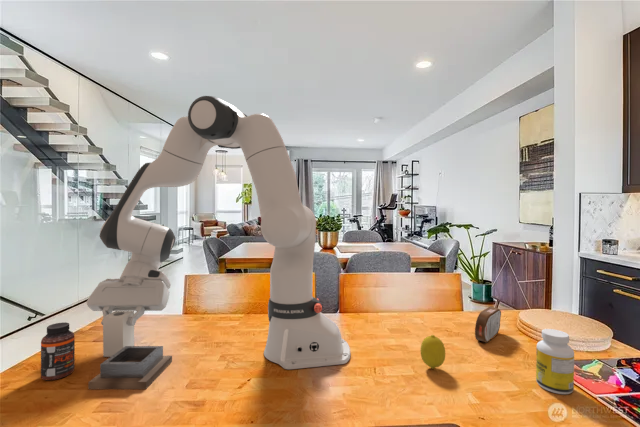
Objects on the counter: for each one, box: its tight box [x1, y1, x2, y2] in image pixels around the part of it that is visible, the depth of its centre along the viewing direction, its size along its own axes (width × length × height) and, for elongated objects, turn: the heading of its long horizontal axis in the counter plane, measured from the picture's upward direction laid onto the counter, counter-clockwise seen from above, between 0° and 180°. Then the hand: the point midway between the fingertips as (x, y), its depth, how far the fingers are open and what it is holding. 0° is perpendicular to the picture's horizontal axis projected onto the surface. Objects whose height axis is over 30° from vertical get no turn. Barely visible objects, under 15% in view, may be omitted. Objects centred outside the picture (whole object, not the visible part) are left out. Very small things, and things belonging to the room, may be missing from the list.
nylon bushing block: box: [102, 311, 135, 358], centre depth 84 cm, size 5×5×10 cm
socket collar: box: [99, 345, 164, 378], centre depth 73 cm, size 9×9×3 cm
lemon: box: [420, 334, 446, 370], centre depth 76 cm, size 6×6×8 cm
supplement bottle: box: [40, 321, 76, 381], centre depth 73 cm, size 6×6×11 cm
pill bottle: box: [535, 328, 575, 395], centre depth 68 cm, size 6×6×12 cm
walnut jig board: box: [87, 355, 173, 390], centre depth 73 cm, size 12×12×2 cm
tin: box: [474, 305, 502, 343], centre depth 94 cm, size 15×3×8 cm, turn 135°
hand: (117, 324), depth 83 cm, fingers closed on nylon bushing block, 5 cm apart
